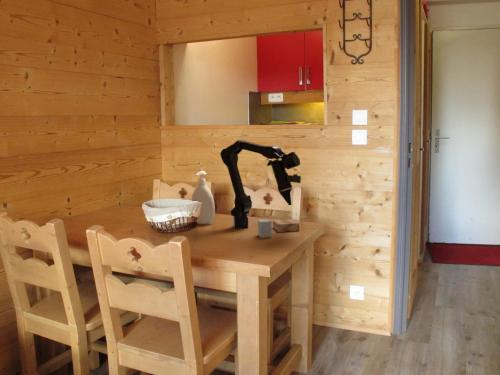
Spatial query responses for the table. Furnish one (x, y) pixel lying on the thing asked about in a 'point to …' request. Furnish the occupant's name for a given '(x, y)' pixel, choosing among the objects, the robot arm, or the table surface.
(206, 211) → the soap bottle
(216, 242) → the table surface
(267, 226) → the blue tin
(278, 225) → the walnut block
